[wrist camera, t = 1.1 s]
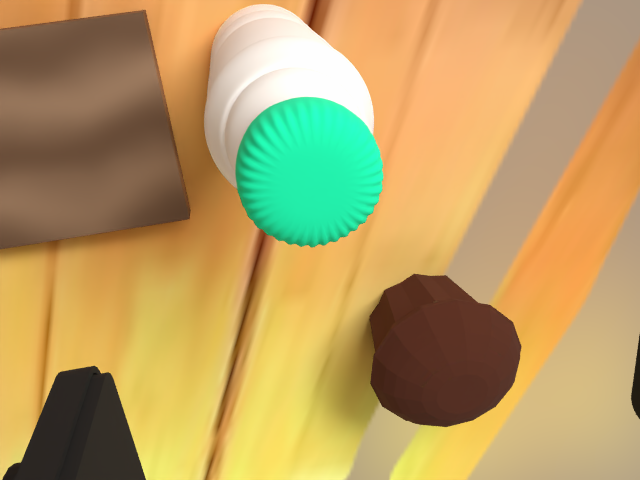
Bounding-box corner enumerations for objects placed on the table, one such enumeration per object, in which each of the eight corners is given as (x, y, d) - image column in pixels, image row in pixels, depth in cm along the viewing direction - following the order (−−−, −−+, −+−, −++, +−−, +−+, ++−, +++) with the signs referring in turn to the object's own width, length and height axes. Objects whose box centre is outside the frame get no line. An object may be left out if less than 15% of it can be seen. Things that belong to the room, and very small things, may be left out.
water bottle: (316, 2, 40) (435, 65, 18) (315, 109, 43) (417, 279, 21) (206, 3, 39) (186, 71, 17) (214, 112, 42) (206, 294, 20)
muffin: (362, 384, 54) (391, 470, 45) (342, 278, 49) (369, 351, 40) (491, 353, 55) (543, 432, 46) (483, 245, 50) (541, 310, 41)
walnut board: (-186, 53, 37) (-201, 57, 36) (145, 10, 39) (142, 12, 37) (-92, 255, 43) (-102, 265, 42) (190, 211, 45) (189, 218, 43)
